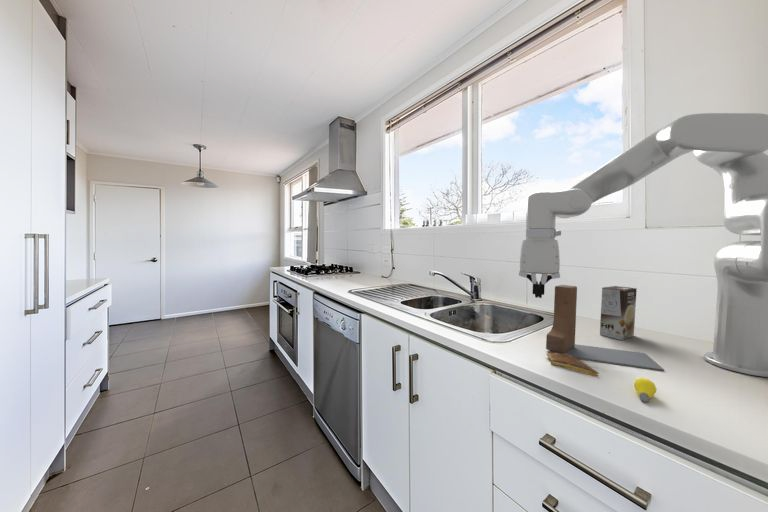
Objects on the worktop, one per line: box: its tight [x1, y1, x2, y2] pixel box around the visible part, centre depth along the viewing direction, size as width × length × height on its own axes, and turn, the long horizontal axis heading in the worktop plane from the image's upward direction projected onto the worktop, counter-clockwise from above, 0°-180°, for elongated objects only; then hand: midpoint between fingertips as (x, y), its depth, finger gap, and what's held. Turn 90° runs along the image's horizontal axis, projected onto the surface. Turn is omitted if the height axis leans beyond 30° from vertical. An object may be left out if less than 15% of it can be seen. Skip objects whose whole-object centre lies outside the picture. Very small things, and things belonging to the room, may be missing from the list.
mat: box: [548, 343, 665, 372], centre depth 80 cm, size 24×11×1 cm, turn 66°
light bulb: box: [633, 377, 658, 403], centre depth 58 cm, size 3×6×4 cm, turn 137°
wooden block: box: [545, 284, 578, 353], centre depth 83 cm, size 9×4×18 cm, turn 128°
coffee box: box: [599, 285, 638, 341], centre depth 95 cm, size 9×6×16 cm
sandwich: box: [545, 352, 600, 377], centre depth 72 cm, size 11×8×2 cm
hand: (538, 296), depth 85 cm, fingers closed
